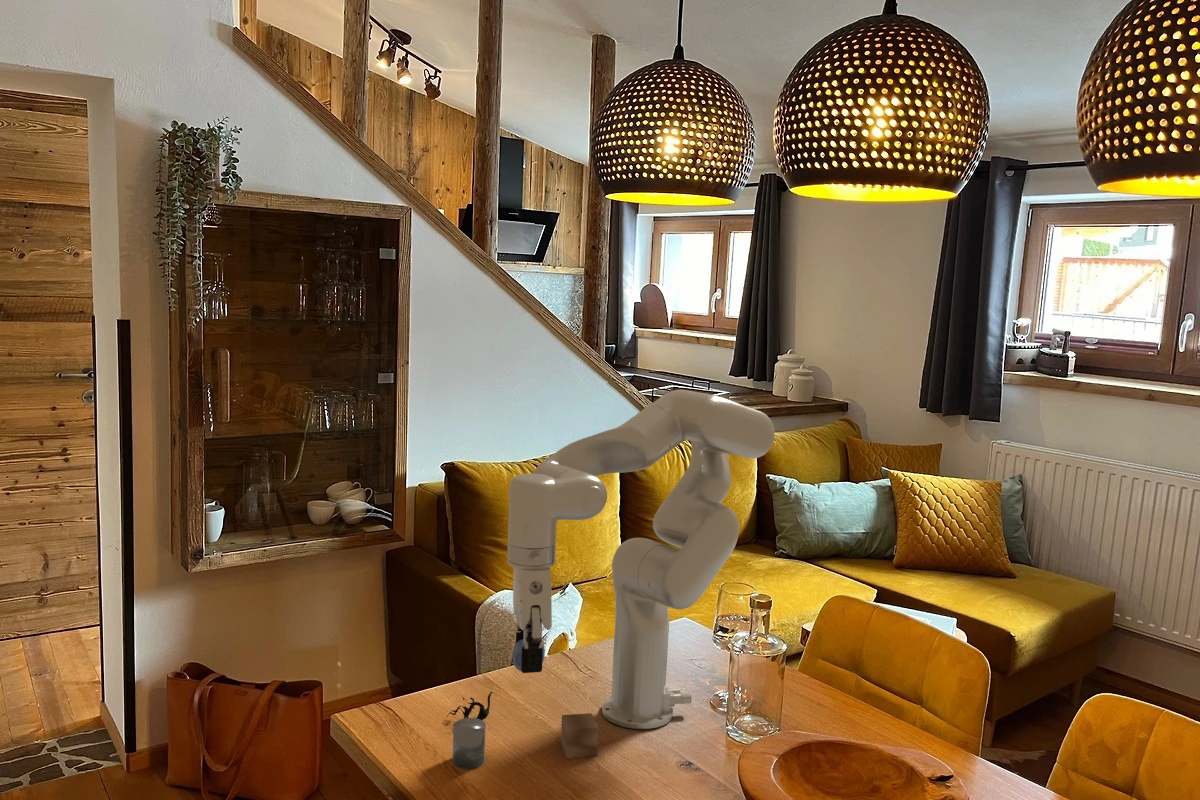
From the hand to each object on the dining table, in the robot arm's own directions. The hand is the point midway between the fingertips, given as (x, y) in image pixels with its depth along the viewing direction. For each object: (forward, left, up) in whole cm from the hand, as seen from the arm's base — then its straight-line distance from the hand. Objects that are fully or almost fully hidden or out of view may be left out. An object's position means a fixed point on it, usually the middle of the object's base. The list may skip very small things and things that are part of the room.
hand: (528, 662), depth 149 cm
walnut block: (-9, 0, -15) cm, 18 cm away
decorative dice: (0, 0, -1) cm, 1 cm away
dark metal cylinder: (+9, +1, -15) cm, 18 cm away
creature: (+8, -12, -16) cm, 21 cm away
